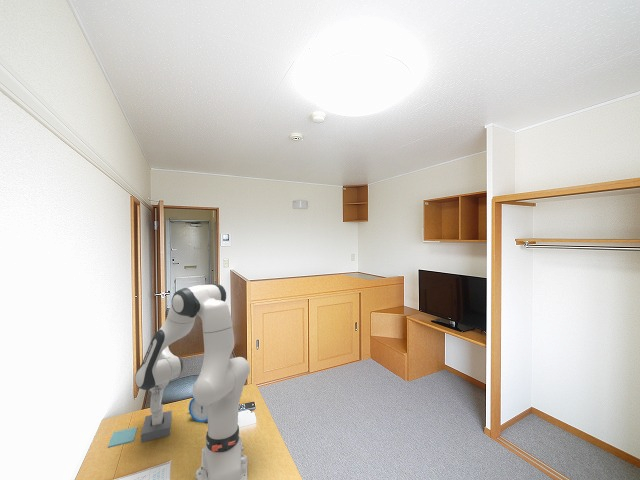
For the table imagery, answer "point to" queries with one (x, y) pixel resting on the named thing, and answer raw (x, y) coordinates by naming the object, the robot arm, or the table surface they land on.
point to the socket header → (156, 427)
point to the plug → (160, 417)
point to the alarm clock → (198, 411)
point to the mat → (122, 437)
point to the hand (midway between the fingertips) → (156, 411)
